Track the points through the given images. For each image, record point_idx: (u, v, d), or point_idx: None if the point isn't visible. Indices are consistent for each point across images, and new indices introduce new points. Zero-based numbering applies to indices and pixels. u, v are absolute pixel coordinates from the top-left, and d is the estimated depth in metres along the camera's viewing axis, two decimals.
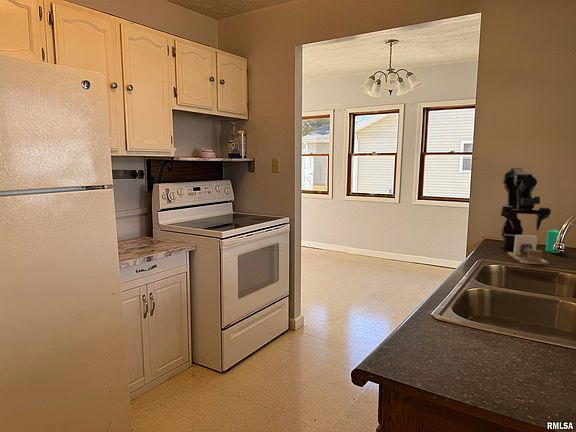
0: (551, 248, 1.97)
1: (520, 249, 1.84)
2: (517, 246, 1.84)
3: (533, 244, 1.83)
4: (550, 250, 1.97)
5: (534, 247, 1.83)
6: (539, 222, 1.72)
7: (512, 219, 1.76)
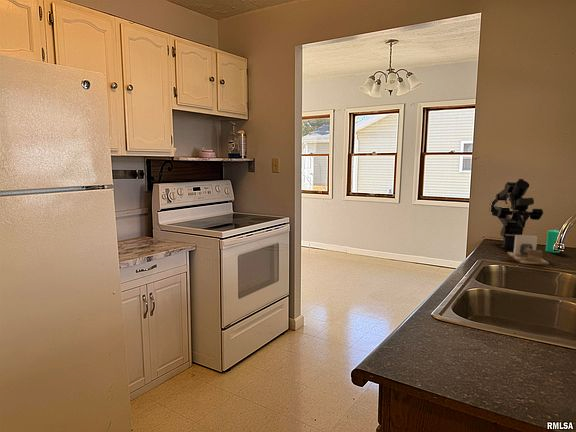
0: (551, 248, 1.97)
1: (520, 249, 1.84)
2: (517, 246, 1.84)
3: (533, 244, 1.83)
4: (550, 250, 1.97)
5: (534, 247, 1.83)
6: (524, 220, 1.88)
7: (520, 219, 1.89)
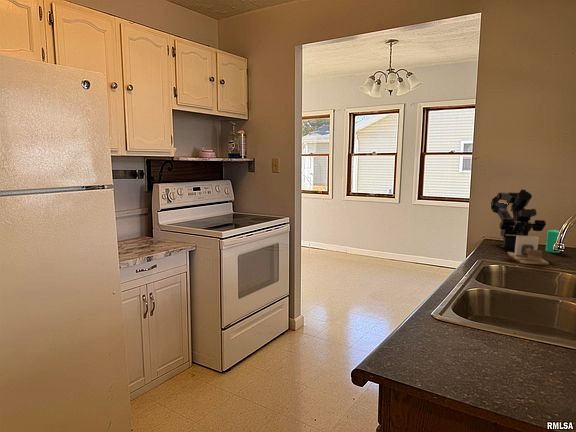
0: (551, 248, 1.97)
1: (521, 250, 1.82)
2: (518, 247, 1.83)
3: (534, 245, 1.81)
4: (550, 250, 1.97)
5: (535, 248, 1.81)
6: (527, 232, 1.85)
7: (522, 230, 1.86)
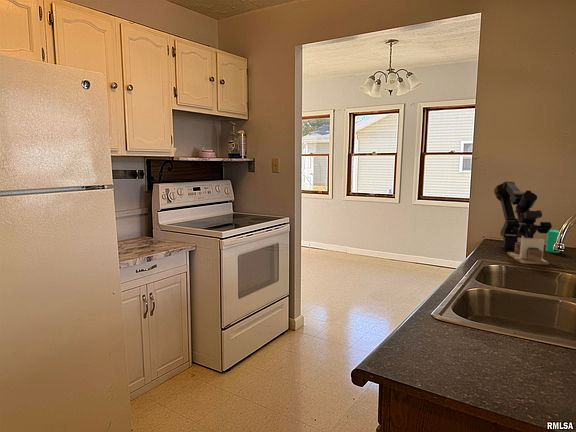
0: (551, 248, 1.97)
1: (526, 253, 1.76)
2: (523, 250, 1.77)
3: (540, 247, 1.75)
4: (550, 250, 1.97)
5: None
6: (532, 234, 1.79)
7: (528, 233, 1.80)
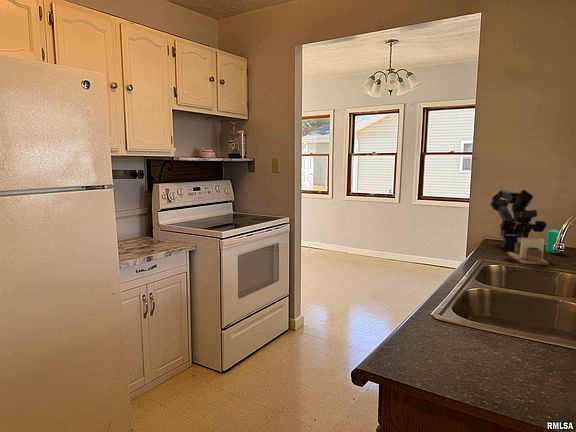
0: (551, 248, 1.97)
1: (526, 253, 1.76)
2: (523, 250, 1.77)
3: (540, 248, 1.75)
4: (550, 250, 1.97)
5: None
6: (527, 233, 1.84)
7: (523, 232, 1.85)
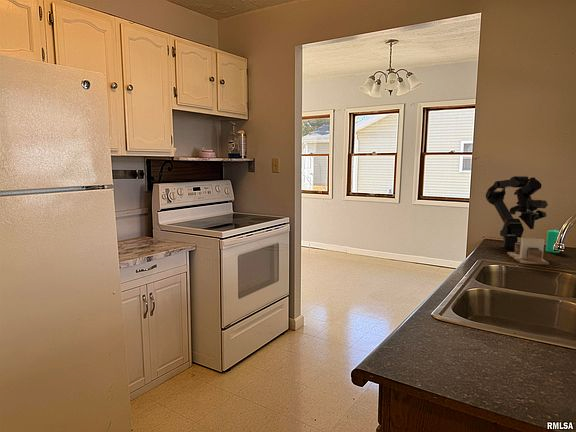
0: (551, 248, 1.97)
1: (526, 253, 1.76)
2: (523, 250, 1.77)
3: (540, 248, 1.75)
4: (550, 250, 1.97)
5: None
6: (533, 222, 1.86)
7: (531, 220, 1.86)
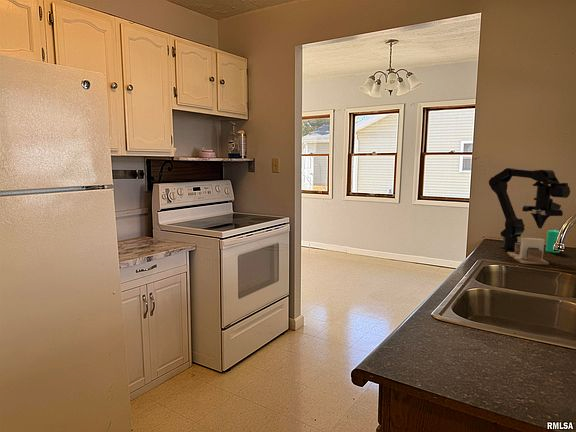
0: (551, 248, 1.97)
1: (526, 253, 1.76)
2: (523, 250, 1.77)
3: (540, 248, 1.75)
4: (550, 250, 1.97)
5: None
6: None
7: None
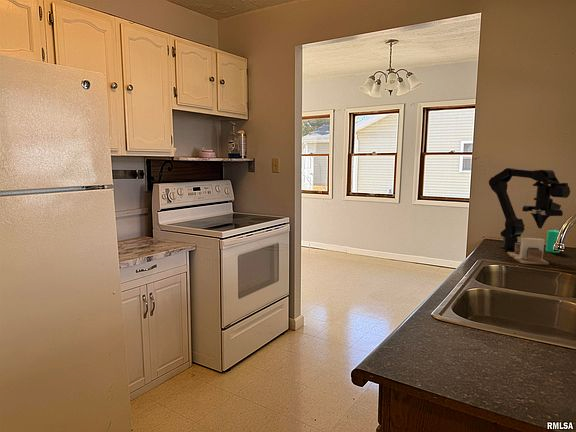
0: (551, 248, 1.97)
1: (526, 253, 1.76)
2: (523, 250, 1.77)
3: (540, 248, 1.75)
4: (550, 250, 1.97)
5: None
6: None
7: None
